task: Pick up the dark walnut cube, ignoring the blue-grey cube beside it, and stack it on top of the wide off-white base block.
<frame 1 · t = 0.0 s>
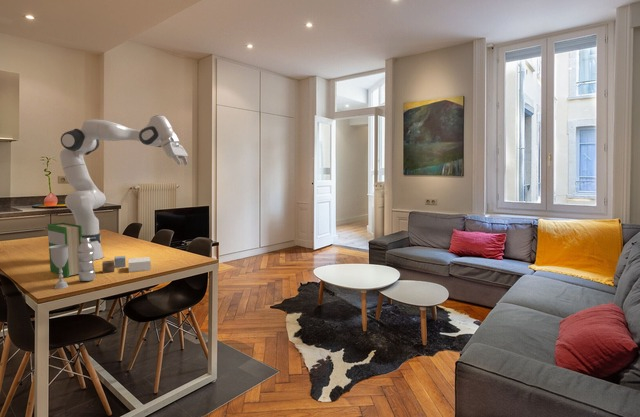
hand: (183, 164, 206), 54 cm above the table, tool tilted 30°, fingers open, 8 cm apart
blue-grey cube: (120, 266, 196), on the table
hardback book: (67, 273, 182), on the table
chalice: (61, 287, 160), on the table
walnut cube: (108, 271, 185), on the table
plastic bottle: (87, 281, 169), on the table
base block: (139, 269, 191), on the table
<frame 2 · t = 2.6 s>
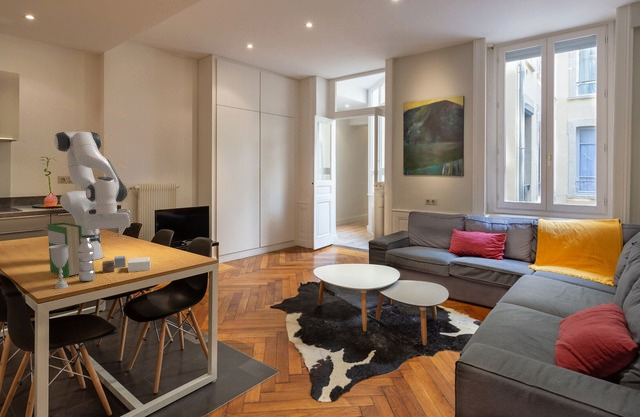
hand: (108, 237, 184), 17 cm above the table, tool pointing down, fingers open, 8 cm apart
nothing on the table moved.
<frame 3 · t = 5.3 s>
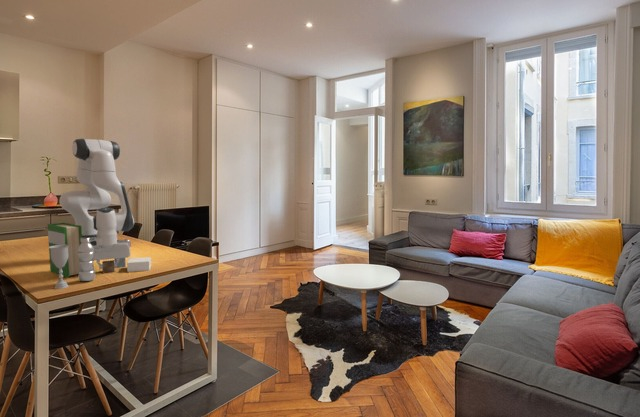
hand: (108, 267, 185), 2 cm above the table, tool pointing down, fingers closed on walnut cube, 5 cm apart
walnut cube: (108, 271, 185), on the table, touching gripper
everything else where it was.
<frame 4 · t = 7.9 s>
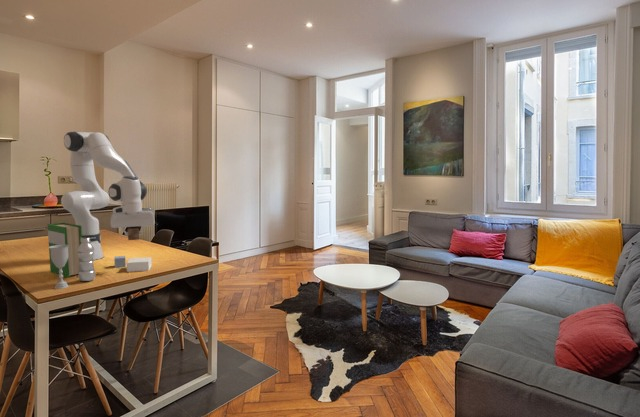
hand: (133, 235, 188), 18 cm above the table, tool pointing down, fingers closed on walnut cube, 5 cm apart
walnut cube: (133, 239, 188), point 16 cm above the table, touching gripper
everything else where it was.
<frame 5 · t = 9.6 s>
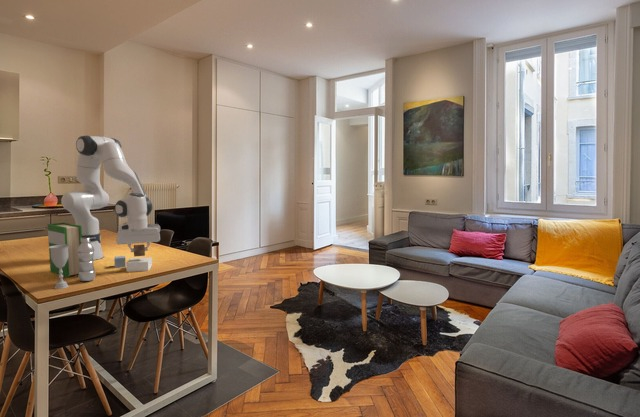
hand: (139, 251, 190), 9 cm above the table, tool pointing down, fingers closed on walnut cube, 5 cm apart
walnut cube: (139, 255, 190), point 7 cm above the table, touching gripper
everything else where it was.
when the fingers open (8 cm above the table, at t = 10.7 s): walnut cube drops 1 cm, point 5 cm above the table.
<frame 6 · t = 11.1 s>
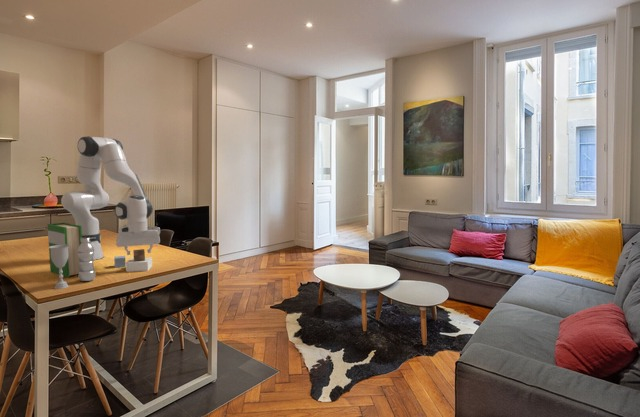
hand: (139, 253, 190), 8 cm above the table, tool pointing down, fingers open, 8 cm apart
walnut cube: (139, 260, 190), point 5 cm above the table
everything else where it was.
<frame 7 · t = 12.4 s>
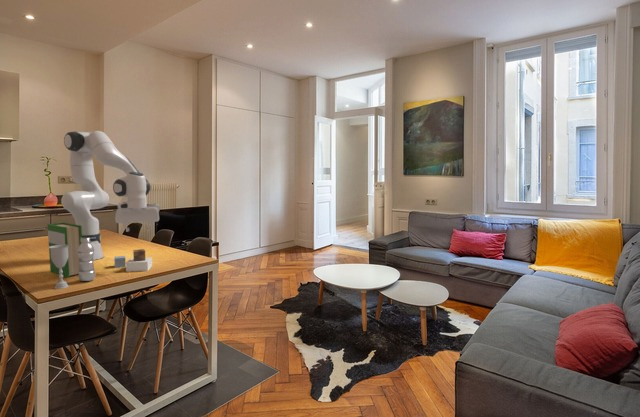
hand: (138, 231, 189), 20 cm above the table, tool pointing down, fingers open, 8 cm apart
walnut cube: (139, 259, 190), point 5 cm above the table, touching base block
base block: (139, 269, 191), on the table, touching walnut cube
everything else where it was.
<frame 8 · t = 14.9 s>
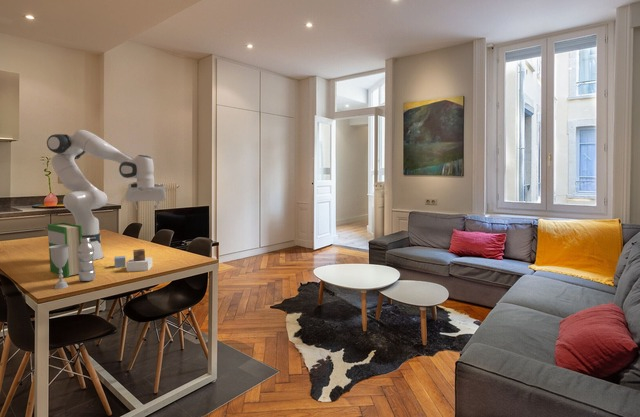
hand: (146, 209, 207), 29 cm above the table, tool pointing down, fingers open, 8 cm apart
nothing on the table moved.
at the end: walnut cube 0.3 cm off-centre on the base block, point 5.0 cm above the base block's base; walnut cube tilted 0°; the gripper is holding nothing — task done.
